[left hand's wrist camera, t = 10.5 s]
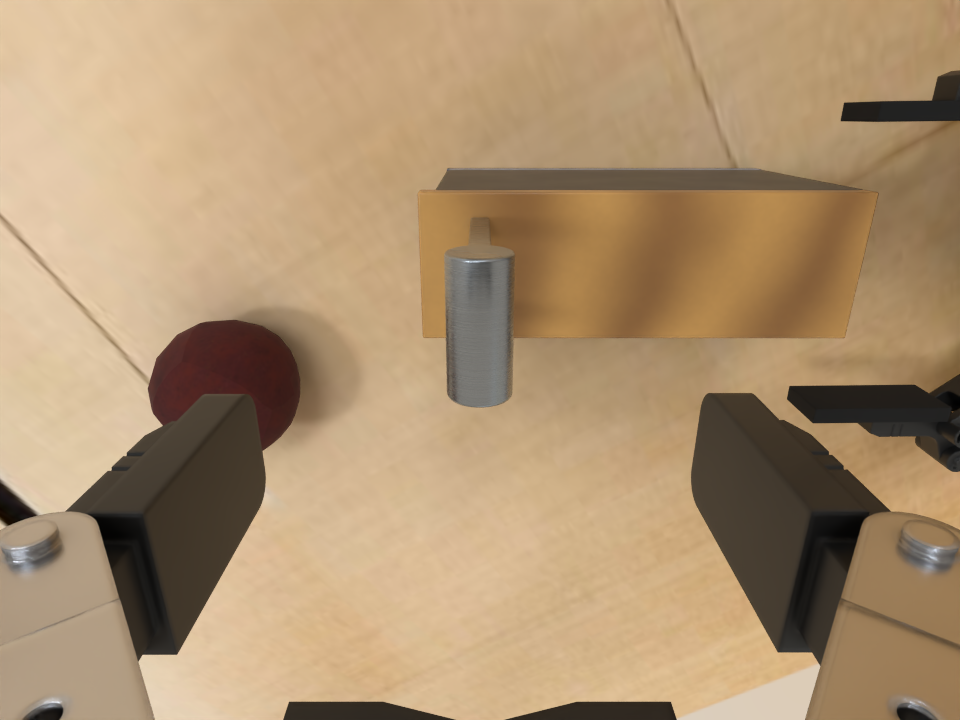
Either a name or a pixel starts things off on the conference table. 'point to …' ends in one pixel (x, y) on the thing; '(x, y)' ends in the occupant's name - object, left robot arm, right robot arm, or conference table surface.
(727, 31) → the conference table surface
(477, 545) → the conference table surface
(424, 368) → the conference table surface
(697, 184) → the chest
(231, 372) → the dark red ball
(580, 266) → the lid
